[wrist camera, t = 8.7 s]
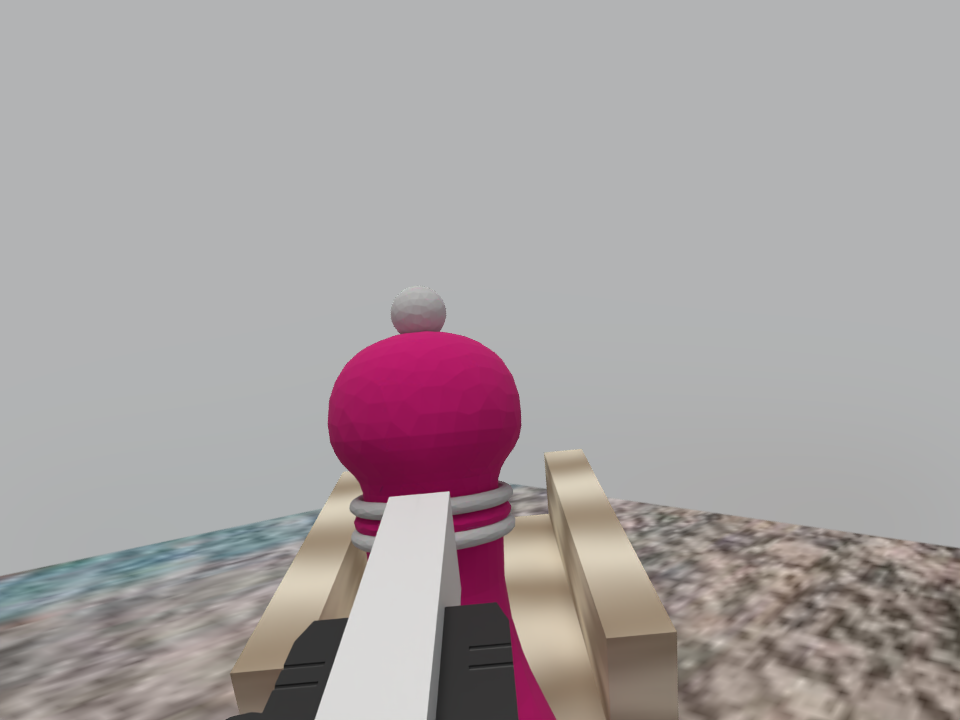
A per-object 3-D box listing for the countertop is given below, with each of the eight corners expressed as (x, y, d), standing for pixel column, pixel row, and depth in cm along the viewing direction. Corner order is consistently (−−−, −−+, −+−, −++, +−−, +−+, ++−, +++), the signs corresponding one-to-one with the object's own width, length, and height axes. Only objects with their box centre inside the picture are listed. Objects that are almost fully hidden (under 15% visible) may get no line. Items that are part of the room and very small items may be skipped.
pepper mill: (463, 837, 20) (423, 317, 22) (644, 948, 15) (570, 276, 18) (283, 1006, 15) (255, 298, 17) (478, 1257, 10) (403, 229, 12)
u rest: (679, 788, 20) (676, 631, 19) (266, 825, 21) (230, 673, 19) (587, 543, 37) (581, 449, 35) (358, 564, 37) (343, 471, 36)
